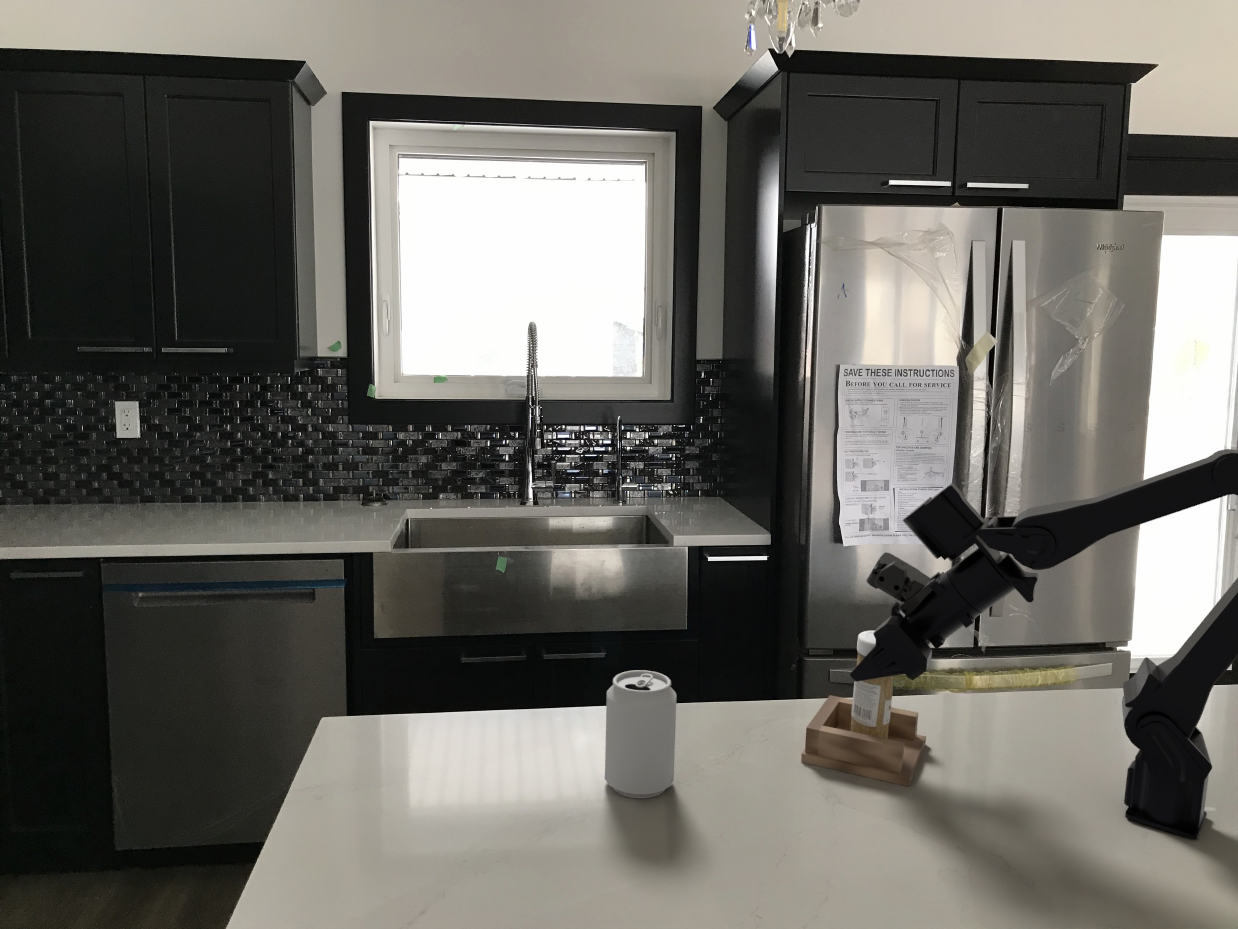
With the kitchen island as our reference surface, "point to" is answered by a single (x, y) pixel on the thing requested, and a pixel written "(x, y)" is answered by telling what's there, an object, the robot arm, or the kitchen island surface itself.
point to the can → (640, 734)
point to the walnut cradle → (863, 744)
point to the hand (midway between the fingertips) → (858, 669)
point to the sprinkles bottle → (871, 696)
